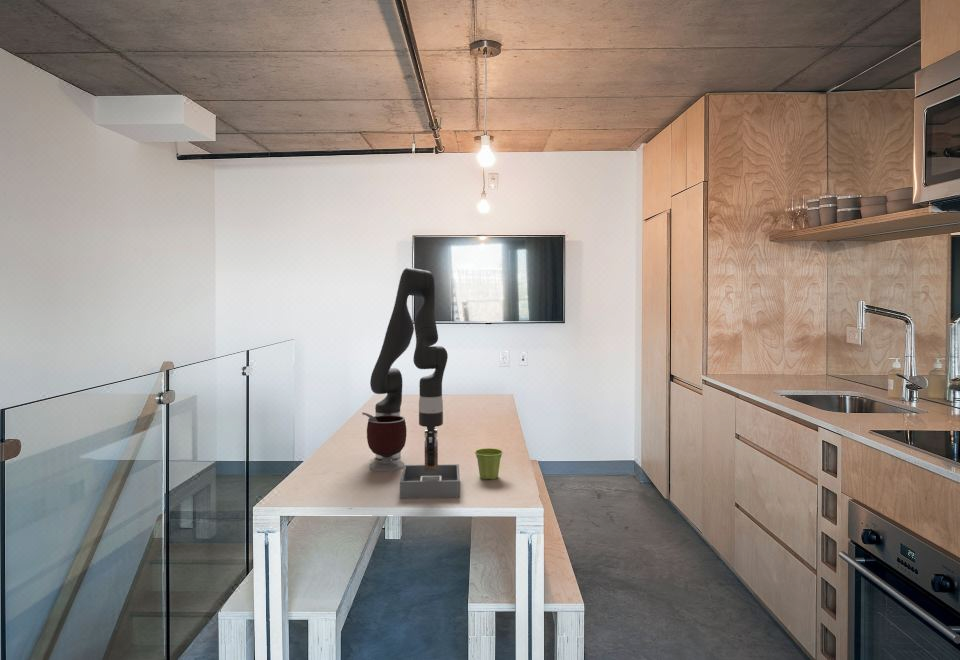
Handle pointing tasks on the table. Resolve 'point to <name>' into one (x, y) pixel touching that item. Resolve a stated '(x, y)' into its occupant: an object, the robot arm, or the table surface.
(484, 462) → the plant pot
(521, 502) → the table surface
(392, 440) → the mate gourd
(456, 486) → the grey square tray
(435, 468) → the brown block
